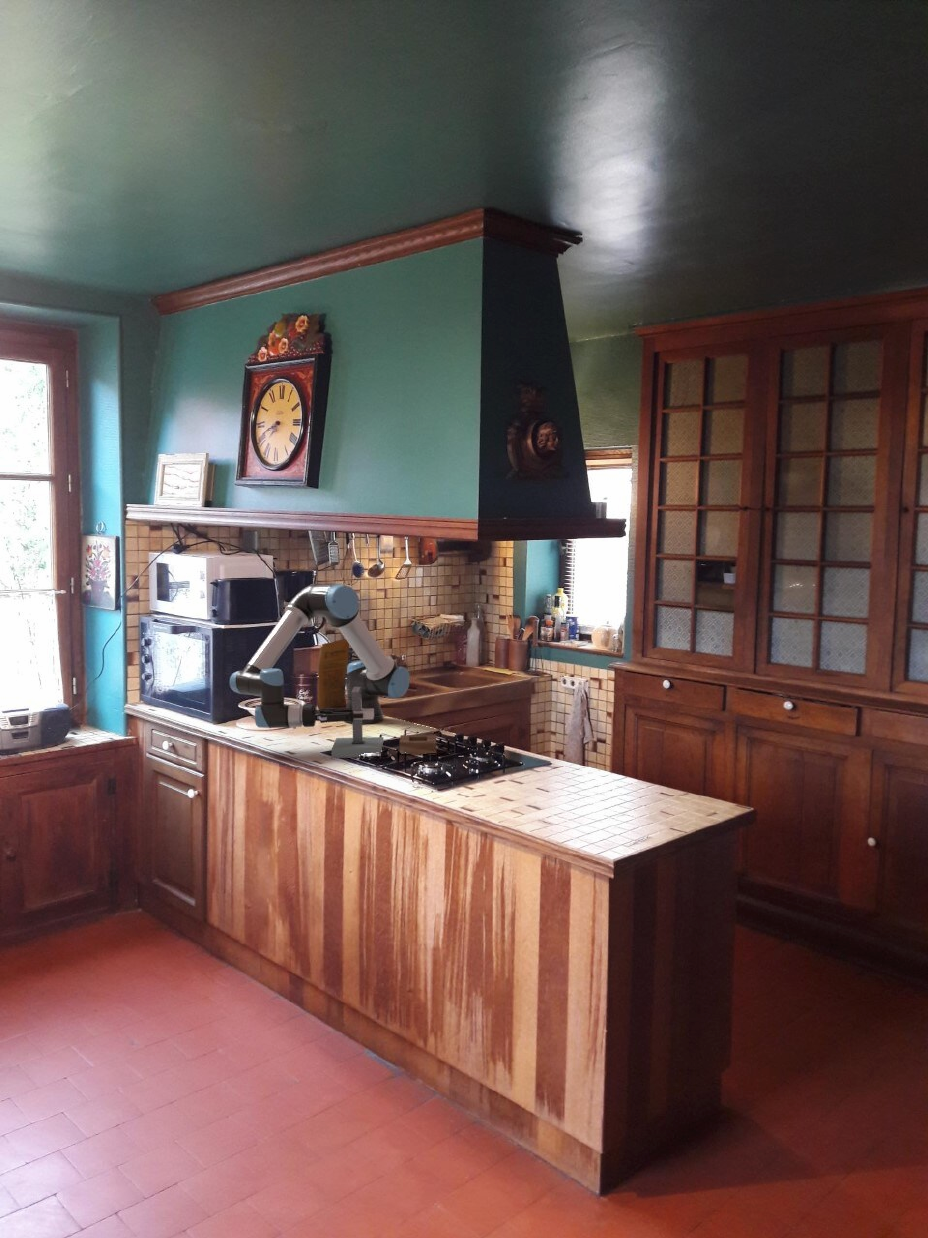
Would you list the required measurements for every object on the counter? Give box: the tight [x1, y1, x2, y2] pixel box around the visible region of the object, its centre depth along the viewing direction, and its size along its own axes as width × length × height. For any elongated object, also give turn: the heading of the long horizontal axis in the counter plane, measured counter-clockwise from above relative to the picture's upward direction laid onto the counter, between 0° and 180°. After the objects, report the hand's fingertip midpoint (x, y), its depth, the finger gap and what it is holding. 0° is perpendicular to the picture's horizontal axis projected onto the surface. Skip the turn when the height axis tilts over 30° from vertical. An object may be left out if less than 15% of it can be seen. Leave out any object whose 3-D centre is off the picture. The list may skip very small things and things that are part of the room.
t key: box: [351, 687, 364, 744], centre depth 330 cm, size 10×3×18 cm, turn 2°
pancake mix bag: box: [317, 638, 350, 710], centre depth 408 cm, size 7×19×28 cm, turn 142°
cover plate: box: [331, 736, 385, 759], centre depth 332 cm, size 16×16×3 cm
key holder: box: [399, 734, 437, 754], centre depth 332 cm, size 12×12×4 cm
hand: (373, 713), depth 331 cm, fingers closed on t key, 3 cm apart
